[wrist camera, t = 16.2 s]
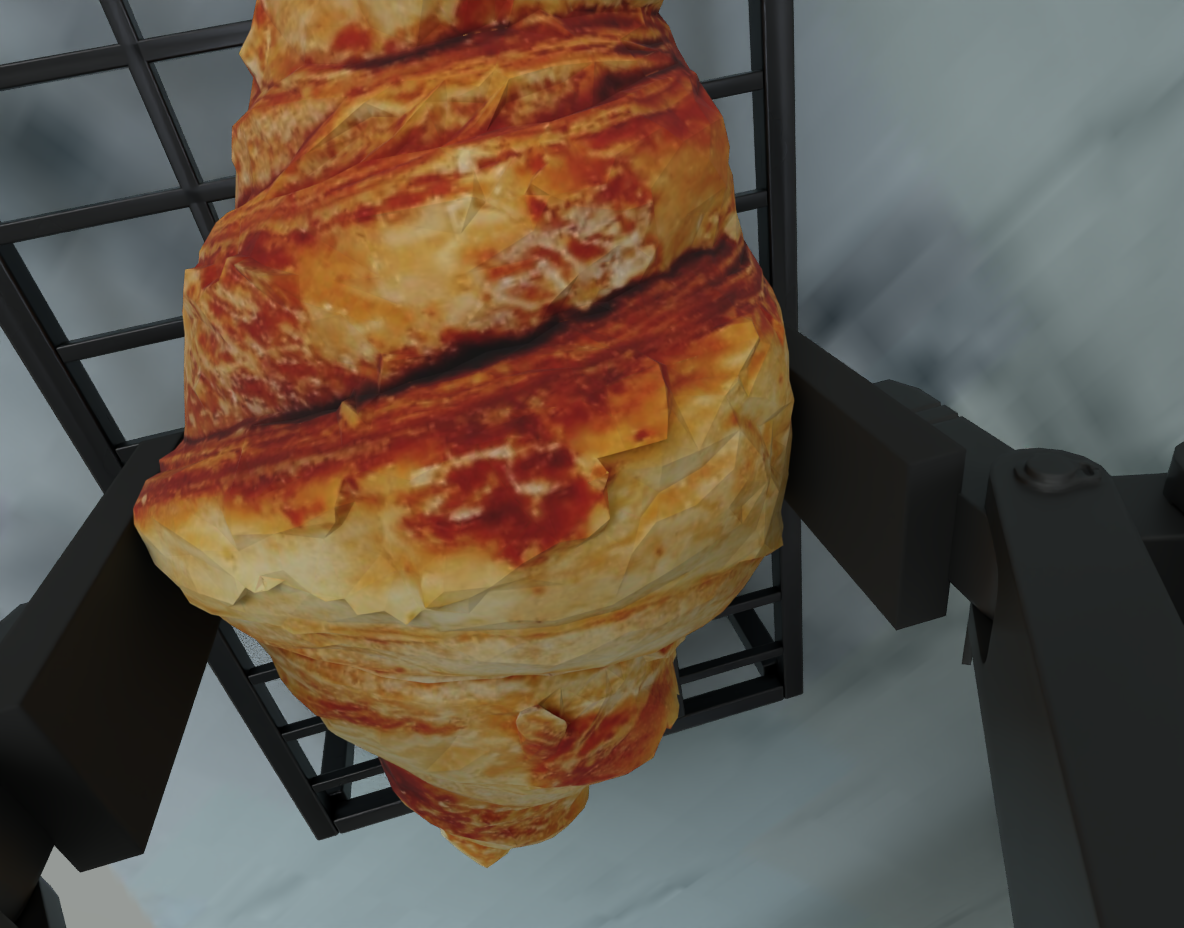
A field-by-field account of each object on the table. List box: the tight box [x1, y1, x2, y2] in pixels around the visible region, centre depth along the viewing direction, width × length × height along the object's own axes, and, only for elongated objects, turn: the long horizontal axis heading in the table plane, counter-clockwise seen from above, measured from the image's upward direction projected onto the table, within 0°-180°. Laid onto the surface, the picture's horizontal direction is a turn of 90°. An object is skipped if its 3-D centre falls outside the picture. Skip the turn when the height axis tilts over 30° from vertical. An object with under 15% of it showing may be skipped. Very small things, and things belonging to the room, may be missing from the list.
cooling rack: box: [0, 0, 803, 840], centre depth 16 cm, size 22×14×4 cm, turn 10°
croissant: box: [133, 0, 794, 868], centre depth 12 cm, size 21×10×8 cm, turn 178°
